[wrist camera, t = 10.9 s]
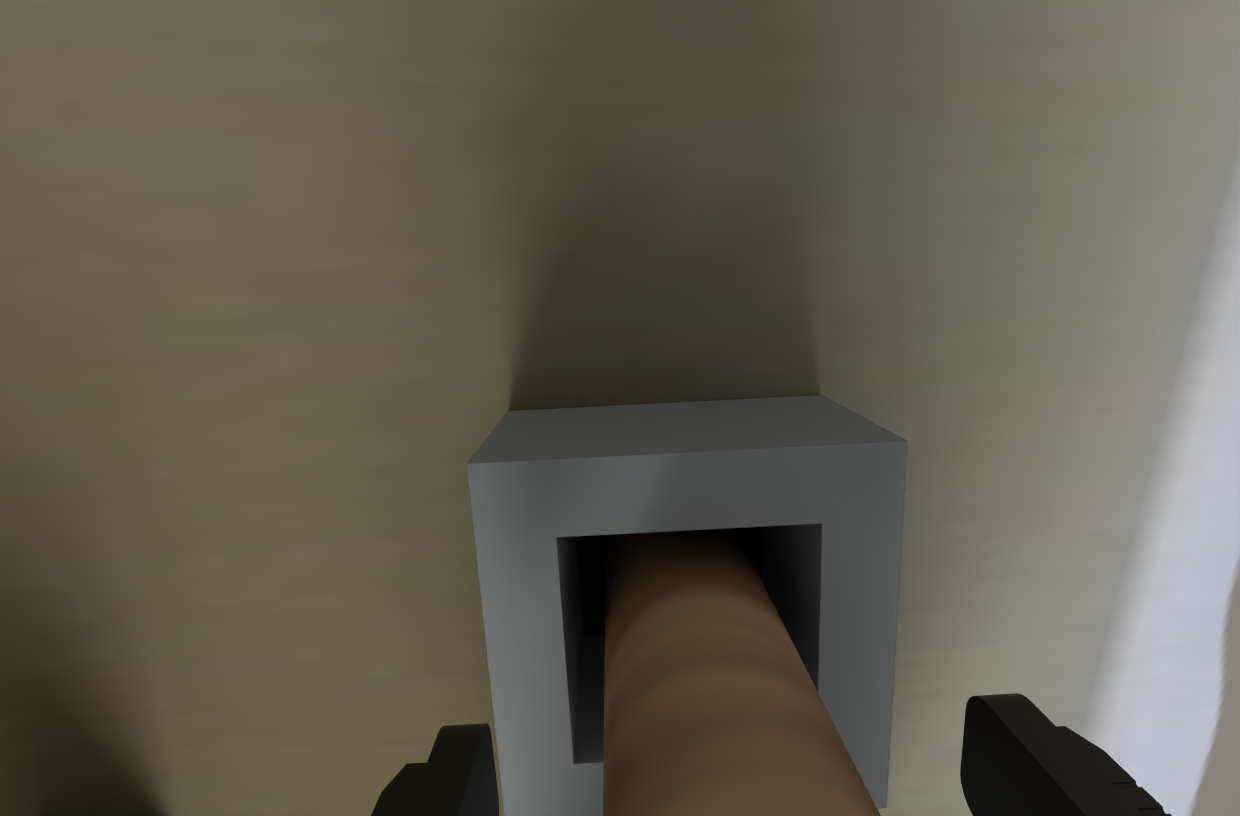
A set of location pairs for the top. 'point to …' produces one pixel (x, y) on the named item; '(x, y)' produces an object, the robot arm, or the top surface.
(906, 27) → the top surface
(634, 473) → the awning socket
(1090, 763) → the robot arm
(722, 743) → the peg
